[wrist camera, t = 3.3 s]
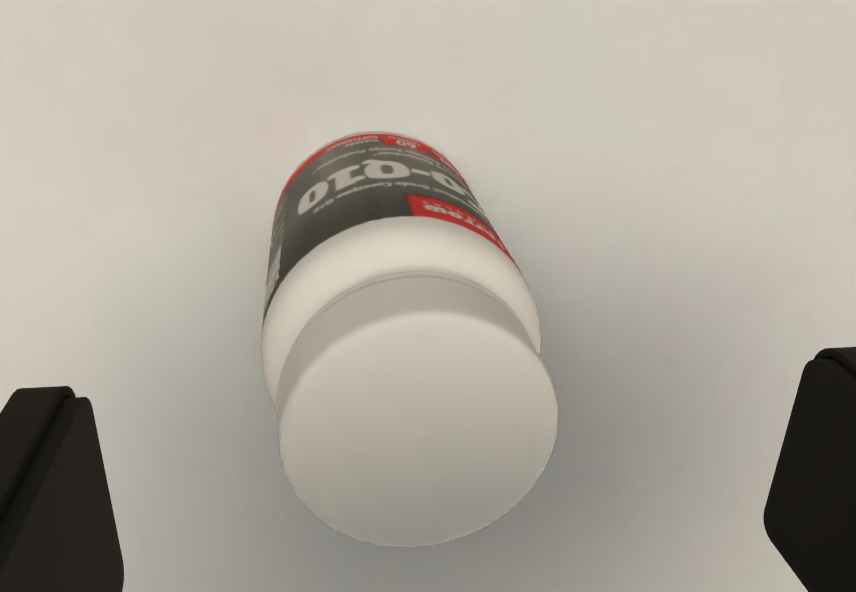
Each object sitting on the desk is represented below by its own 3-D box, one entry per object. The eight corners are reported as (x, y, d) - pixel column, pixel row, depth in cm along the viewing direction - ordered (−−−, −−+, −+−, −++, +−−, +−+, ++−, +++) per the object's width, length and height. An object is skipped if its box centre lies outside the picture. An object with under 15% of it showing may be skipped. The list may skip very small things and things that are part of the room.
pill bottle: (479, 128, 18) (614, 280, 10) (465, 313, 20) (569, 554, 12) (267, 126, 17) (243, 288, 9) (275, 318, 19) (260, 578, 11)
